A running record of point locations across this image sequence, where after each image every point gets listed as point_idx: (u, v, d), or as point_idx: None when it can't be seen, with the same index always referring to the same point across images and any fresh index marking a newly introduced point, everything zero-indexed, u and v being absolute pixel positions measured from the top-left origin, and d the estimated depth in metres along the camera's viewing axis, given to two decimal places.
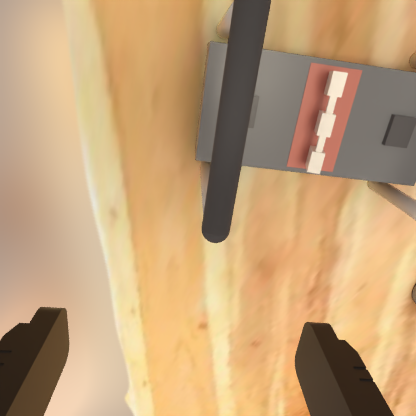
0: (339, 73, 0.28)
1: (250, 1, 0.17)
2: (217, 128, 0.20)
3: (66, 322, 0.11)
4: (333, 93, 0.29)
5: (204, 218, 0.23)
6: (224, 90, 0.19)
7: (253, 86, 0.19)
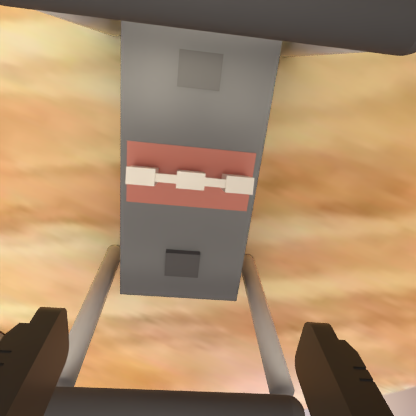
0: (251, 185, 0.23)
1: None
2: None
3: (66, 322, 0.11)
4: (229, 182, 0.24)
5: None
6: None
7: (291, 33, 0.11)
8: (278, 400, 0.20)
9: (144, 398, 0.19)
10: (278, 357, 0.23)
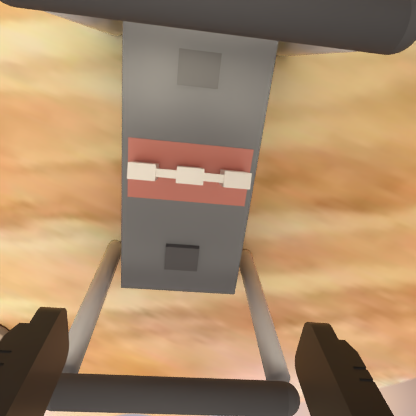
0: (249, 180, 0.24)
1: (405, 15, 0.12)
2: None
3: (66, 322, 0.11)
4: (227, 178, 0.24)
5: None
6: None
7: (285, 33, 0.12)
8: (275, 386, 0.21)
9: (145, 383, 0.20)
10: (275, 346, 0.24)
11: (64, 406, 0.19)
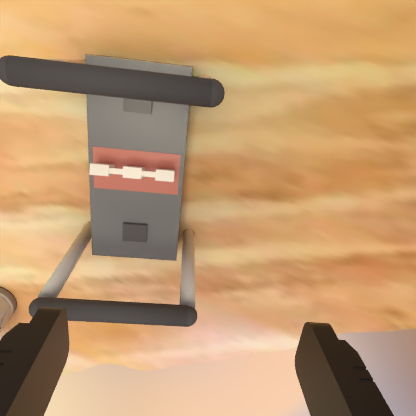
0: (172, 175, 0.36)
1: (209, 90, 0.23)
2: (113, 68, 0.23)
3: (66, 322, 0.11)
4: (158, 174, 0.36)
5: (21, 58, 0.23)
6: (145, 73, 0.23)
7: (151, 98, 0.24)
8: (180, 307, 0.32)
9: (96, 303, 0.31)
10: (189, 287, 0.36)
11: None
